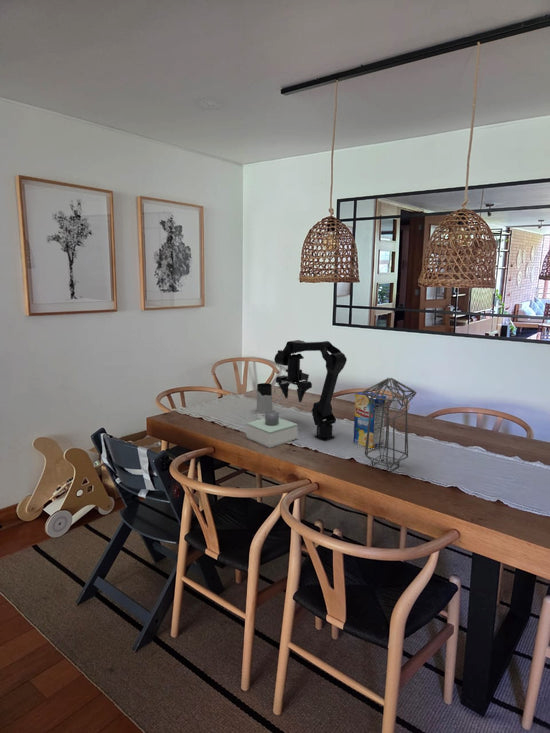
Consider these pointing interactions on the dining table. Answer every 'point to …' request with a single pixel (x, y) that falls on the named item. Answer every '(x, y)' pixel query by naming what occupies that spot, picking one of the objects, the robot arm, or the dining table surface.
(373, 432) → the beverage box
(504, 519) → the dining table surface
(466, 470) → the dining table surface
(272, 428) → the lid
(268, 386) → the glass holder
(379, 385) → the geometric lantern
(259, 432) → the box
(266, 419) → the gray rounded pebble
